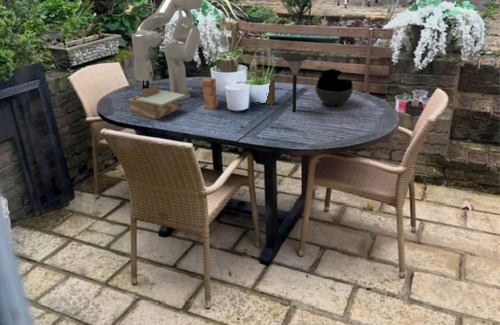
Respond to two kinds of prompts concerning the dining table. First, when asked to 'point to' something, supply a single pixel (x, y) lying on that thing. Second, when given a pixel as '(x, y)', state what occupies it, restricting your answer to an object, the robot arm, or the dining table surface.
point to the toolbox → (151, 108)
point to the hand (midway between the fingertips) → (146, 92)
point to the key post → (209, 93)
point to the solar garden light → (294, 72)
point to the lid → (158, 96)
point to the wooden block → (271, 89)
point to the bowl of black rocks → (333, 88)
